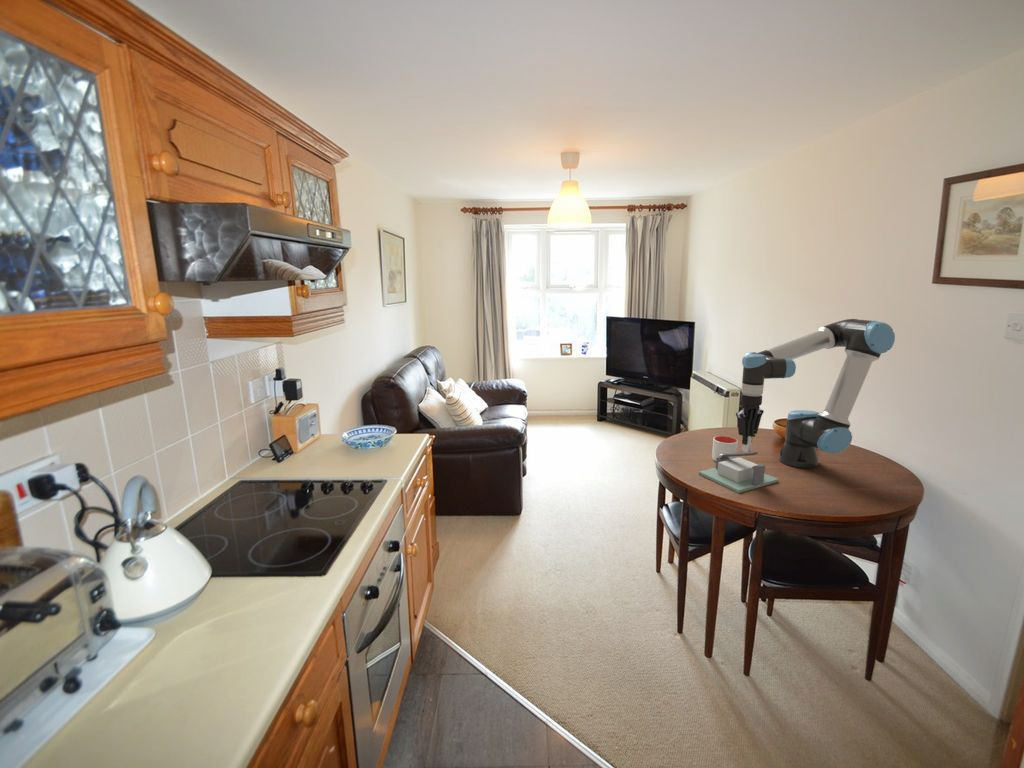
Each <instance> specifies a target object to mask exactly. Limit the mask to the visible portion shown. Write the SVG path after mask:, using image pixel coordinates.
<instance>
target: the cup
mask: <svg viewBox="0 0 1024 768" xmlns="http://www.w3.org/2000/svg"><path fill="white" fill-rule="evenodd" d="M738 445H739V440H738V439H737V438H735V437H731V436H728V435H718V436H714V437H713V439H712V451H711V457H712V460H713V461H715V462H716V457H718V455H722V454H726V453H727V454H734V453H738ZM734 458H738V456H733V457H730V459H734ZM730 459H729V460H730Z"/></svg>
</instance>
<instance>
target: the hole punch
mask: <svg viewBox="0 0 1024 768" xmlns="http://www.w3.org/2000/svg"><path fill="white" fill-rule="evenodd" d="M729 459H730V457H722V458H719V457H716V461H715V467H712V468H709V469H704V470H701V471H699V472H698V475H699V476H701V477H704V478H706V479H707V480H710V481H712V482H714V483H717V484H719V485H720V486H722V487H725V488H727V489H729V490H731V491H733V492H735V493H737V494H740V493H744V492H747V491H751V490H755V489H758V488H761V487H765V486H768V485H771V484H775V483H778V482H779V478H777V477H774V476H772V475H769V474H768V473H765V470H766V465H765V464H762V463H761V464H757V463H755V462H752V461H750V460H747V459H745V458H743V457H741V456H737V458H734V459H730V460H729Z"/></svg>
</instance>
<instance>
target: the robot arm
mask: <svg viewBox="0 0 1024 768" xmlns="http://www.w3.org/2000/svg"><path fill="white" fill-rule="evenodd" d="M895 335H896V334H895V331H894V329H893V328H892V325H890V324H888V323H886V322H882V321H879V320H878V321H877V320H868V319H857V318H846V319H843V320H838V321H836V322H833V323H829V324H827V325H824V326H821V327H819V328H818V329H817V330H816V331H814V332H811V333H809V334H805V335H804V336H800V337H798V338H795V339H791V340H789V341H787V342H784V343H782V344H778V345H776V346H773V347H770V348H768V349H767V348H766V349H765V350H762V351H759V352H756V351H755V352H753V351H750V352H747V353H745V354H744V355H743V357H742V361H741V362H742V363H741V364H742V366H743V368H742V383H741V391H740V392H741V394H740V400H739V402H740V404H741V408H740V411H739V412H738V411H737V412H736V413H735V416H736V420H737V429H738V432H737V433H738V435H739V436H742V438H741V444H742V445H741V446H742V447H741V451H742V453H750V452H751V451H752V449H751V448H752V443H753V438H754V437H756V435H757V433H758V431H759V427H760V423H761V420H762V416H763V414H764V412H765V411H764V409H761V408H760V406H761V405H762V404H763V393H764V388H765V387H764V386H765V385H764V384H765V380H768V379H787V378H792V377H793V376H794V375H795V374H796V370H797V365H796V362H795V361H794V360H796V359H798V358H800V357H803V356H806V355H809V354H813V353H814V352H818V351H820V350H823V349H825V350H831V349H834V348H838V347H839V348H844V347H845V348H844V352H845V354H846V357H845V360H844V362H843V364H842V367H841V369H840V371H839V373H838V377H837V378H836V381H835V384H834V386H833V388H832V391H831V393H830V396H829V399H828V400H827V403H826V405H825V407H824V410H823V411H822V412H818V411H815V410H808V409H807V410H806V409H805V410H803V409H802V410H797V409H796V410H792V411H789V412H788V414H787V418H786V424H785V425H786V427H785V436H784V437H785V438H784V443H783V446H782V447H781V449H780V451H779V453H778V461H779V462H781V463H782V464H784V465H787V466H791V467H794V468H800V469H801V468H802V469H813V468H817V467H818V466H819V455H818V452H817V449H818V450H819V451H822V452H826V453H828V454H839V453H841V452H844V451H846V449H848V448H849V446H850V445H851V444H852V440H853V434H852V431H850V426H851V422H850V421H849V417H850V415H851V413H852V411H853V408H854V406H855V403H856V401H857V399H858V396H859V394H860V392H861V389H862V387H863V384H864V383H865V380H866V377H867V375H868V374H869V370H870V368H871V366H872V364H873V362H875V361H878V360H879V359H880V358H881V355H882V354H885V353H887V352H888V351H890V350H891V349H892V348H893V346H894V343H895V340H896V336H895Z"/></svg>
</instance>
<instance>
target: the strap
mask: <svg viewBox="0 0 1024 768" xmlns="http://www.w3.org/2000/svg"><path fill="white" fill-rule="evenodd" d="M758 454H759V453H758V451H754V452H753V451H752V452H750V453H746V452H739V453H738V452H737V453H734V454H727V453H726V454H722V455H718V457H719V458H722V457H733V456H737V457H744V456H745V457H747V456H755V455H758Z"/></svg>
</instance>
